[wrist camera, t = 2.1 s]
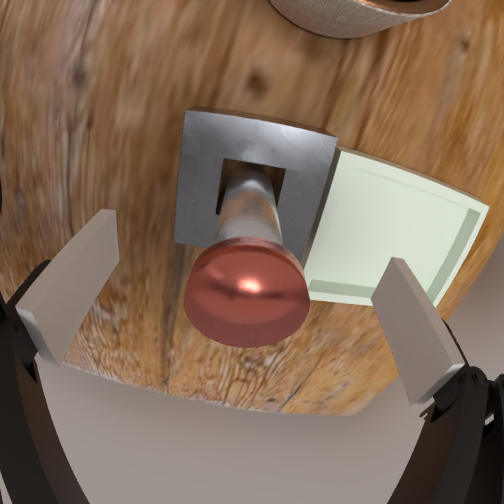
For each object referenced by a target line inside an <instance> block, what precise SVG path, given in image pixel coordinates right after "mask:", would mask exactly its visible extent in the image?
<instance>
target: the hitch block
mask: <svg viewBox="0 0 504 504" xmlns="http://www.w3.org/2000/svg"><path fill="white" fill-rule="evenodd" d="M337 140H338V138H337V137H335V136H334V135H332V134H330V133H329V132H327V131H326V130H324V129H320V128H316V127H313V126H308V125H304V124H300V123H296V122H291V121H287V120H282V119H277V118H272V117H267V116H261V115H256V114H250V113H244V112H237V111H231V110H223V109H216V108H207V107H198V106H197V107H194V108H191V109H188V110H186V112H185V120H184V128H183V136H182V145H181V154H180V164H179V175H178V187H177V200H176V216H175V235H174V243H179V244H186V245H192V246H199V247H205V248H209V247H210V246H212V245H213V243H214V238H215V234H216V230H217V225H218V221H219V217H220V212H221V208H222V204H223V200H224V196H225V195H223V194H221V190H222V183H223V176H224V170H225V164H226V158H227V159H234V160H240V161H246V162H252V163H258V164H263V165H269V166H274V167H278V169H277V174H276V178H275V183H274V187H273V192H274V198H275V203H276V208H277V214H278V219H279V225H280V230H281V236H282V241H283V247H285V248H286V249H288V250H289V251H290V252H291V253H292V254H293V255H294V256H295V257H296V258H297V259H298V261H299V262H301V260H302V257H303V254H304V251H305V248H306V245H307V242H308V239H309V235H310V232H311V229H312V226H313V223H314V220H315V216H316V213H317V210H318V207H319V203H320V200H321V197H322V193H323V190H324V186H325V183H326V180H327V176H328V173H329V169H330V165H331V162H332V158H333V155H334V151H335V147H336V144H337Z"/></svg>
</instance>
